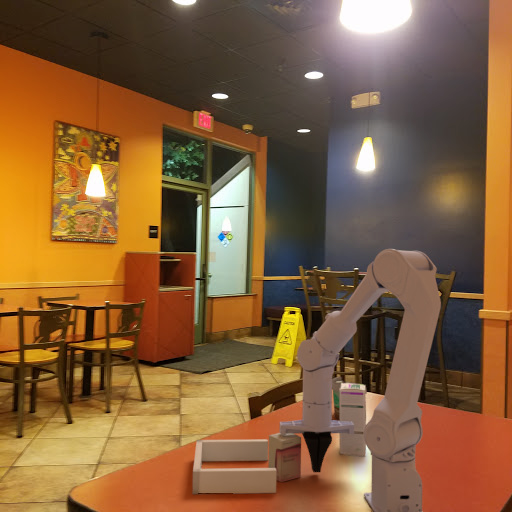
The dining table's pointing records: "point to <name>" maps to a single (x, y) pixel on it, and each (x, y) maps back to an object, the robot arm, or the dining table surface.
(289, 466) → the small box
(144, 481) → the dining table surface
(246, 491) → the u-shaped bracket
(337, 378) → the food container
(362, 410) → the syrup box
